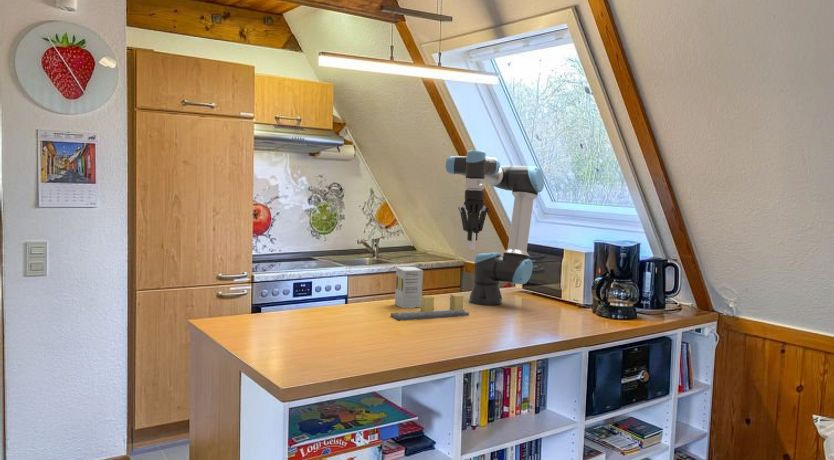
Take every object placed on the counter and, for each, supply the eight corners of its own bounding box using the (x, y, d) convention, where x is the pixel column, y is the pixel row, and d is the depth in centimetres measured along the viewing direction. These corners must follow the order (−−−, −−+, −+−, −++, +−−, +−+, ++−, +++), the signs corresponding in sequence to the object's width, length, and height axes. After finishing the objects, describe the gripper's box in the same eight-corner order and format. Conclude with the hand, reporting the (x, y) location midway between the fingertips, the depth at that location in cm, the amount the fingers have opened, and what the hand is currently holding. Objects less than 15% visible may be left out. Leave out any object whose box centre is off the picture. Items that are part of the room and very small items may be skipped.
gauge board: (390, 316, 259) (391, 295, 258) (458, 311, 273) (459, 292, 272) (399, 320, 251) (399, 299, 250) (468, 315, 265) (469, 295, 264)
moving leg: (417, 311, 263) (417, 294, 262) (425, 310, 265) (426, 294, 264) (424, 314, 257) (425, 297, 256) (433, 314, 259) (434, 297, 258)
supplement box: (394, 304, 282) (395, 267, 281) (413, 303, 286) (414, 266, 285) (402, 308, 274) (404, 270, 272) (422, 307, 278) (423, 269, 276)
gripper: (465, 189, 244) (462, 250, 246) (493, 190, 249) (490, 249, 251) (455, 188, 250) (452, 248, 252) (483, 189, 256) (480, 247, 258)
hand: (471, 248), depth 252 cm, fingers closed
